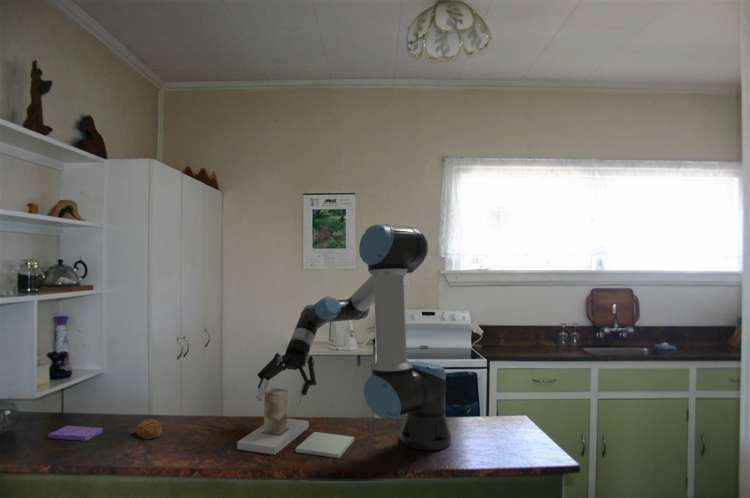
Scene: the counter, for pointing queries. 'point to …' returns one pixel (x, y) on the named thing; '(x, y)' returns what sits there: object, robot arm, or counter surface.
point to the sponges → (75, 433)
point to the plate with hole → (272, 438)
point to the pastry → (149, 429)
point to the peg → (275, 412)
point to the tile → (325, 444)
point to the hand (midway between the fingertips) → (277, 401)
